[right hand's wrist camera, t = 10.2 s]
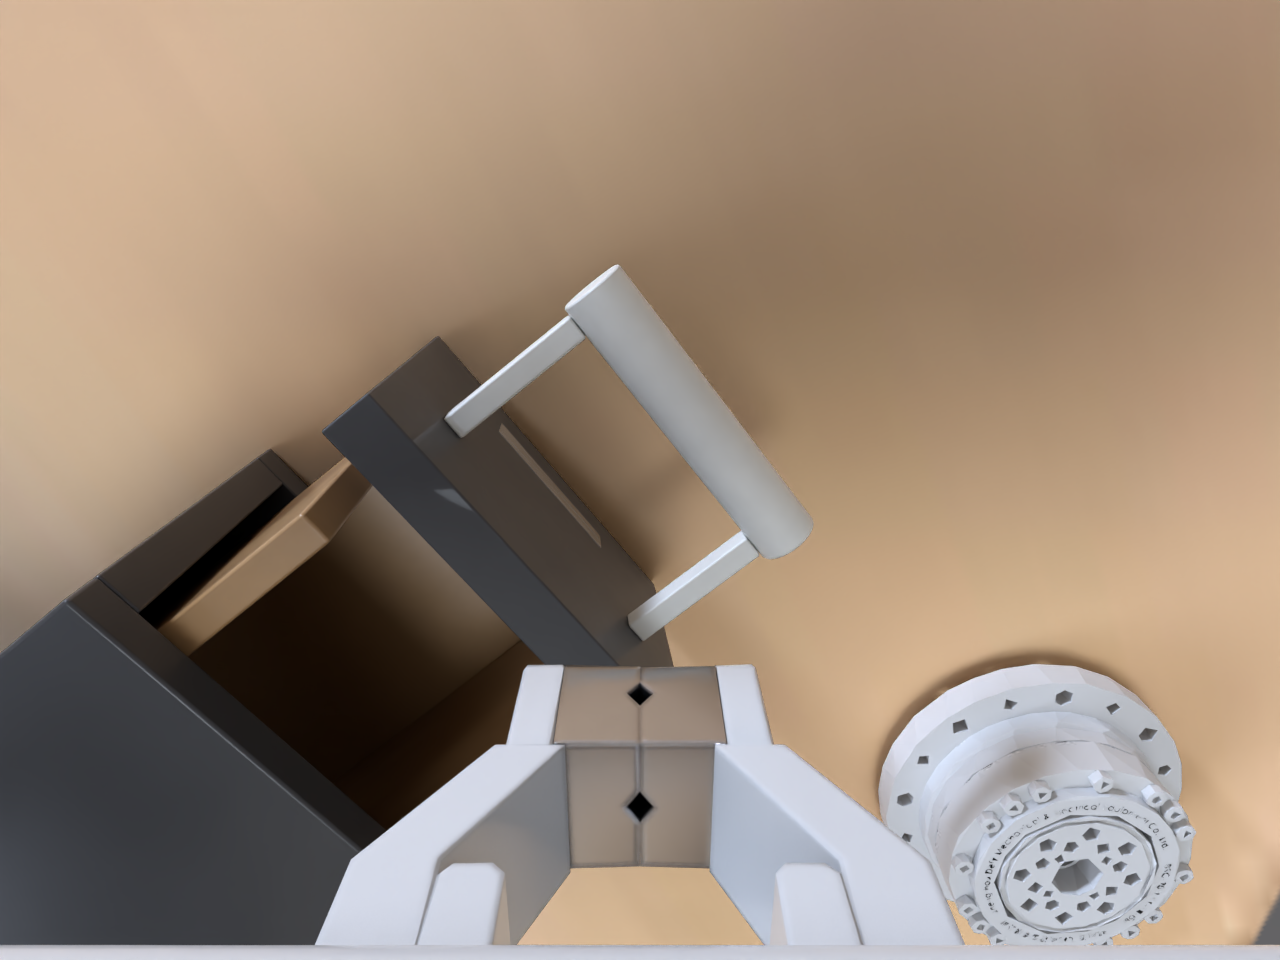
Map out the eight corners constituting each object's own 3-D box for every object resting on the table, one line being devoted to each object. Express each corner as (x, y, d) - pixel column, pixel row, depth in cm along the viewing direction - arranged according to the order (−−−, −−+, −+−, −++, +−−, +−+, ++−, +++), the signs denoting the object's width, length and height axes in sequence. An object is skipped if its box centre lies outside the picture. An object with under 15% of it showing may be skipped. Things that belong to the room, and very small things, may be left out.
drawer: (578, 218, 22) (584, 212, 14) (784, 487, 25) (885, 609, 17) (89, 624, 25) (-143, 816, 17) (329, 828, 28) (231, 1075, 19)
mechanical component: (819, 768, 29) (974, 919, 31) (849, 869, 25) (1025, 1033, 27) (1062, 604, 26) (1208, 783, 29) (1140, 686, 22) (1302, 886, 25)
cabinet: (270, 447, 24) (65, 598, 14) (515, 694, 28) (485, 956, 18) (-75, 735, 26) (-468, 1044, 16) (193, 935, 30) (1, 1295, 20)
